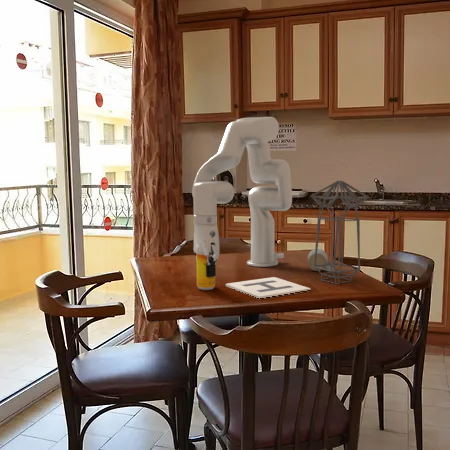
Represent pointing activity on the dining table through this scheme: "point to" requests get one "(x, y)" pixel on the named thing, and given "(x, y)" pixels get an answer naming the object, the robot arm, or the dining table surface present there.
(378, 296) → the dining table surface
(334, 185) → the geometric lantern
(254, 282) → the letter board
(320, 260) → the ceramic mug
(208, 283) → the beer can
